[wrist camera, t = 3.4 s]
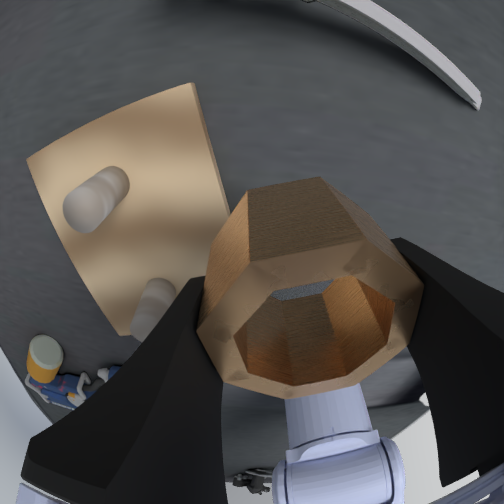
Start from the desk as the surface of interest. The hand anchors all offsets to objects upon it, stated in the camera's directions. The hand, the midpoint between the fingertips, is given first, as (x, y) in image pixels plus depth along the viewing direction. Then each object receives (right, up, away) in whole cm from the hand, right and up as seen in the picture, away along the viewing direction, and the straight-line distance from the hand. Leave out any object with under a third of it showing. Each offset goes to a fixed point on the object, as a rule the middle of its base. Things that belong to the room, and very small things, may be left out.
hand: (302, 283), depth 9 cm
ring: (0, +1, +1) cm, 2 cm away
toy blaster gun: (-22, -14, +19) cm, 33 cm away
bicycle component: (+2, -51, +43) cm, 67 cm away
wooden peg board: (-9, +2, +9) cm, 13 cm away
